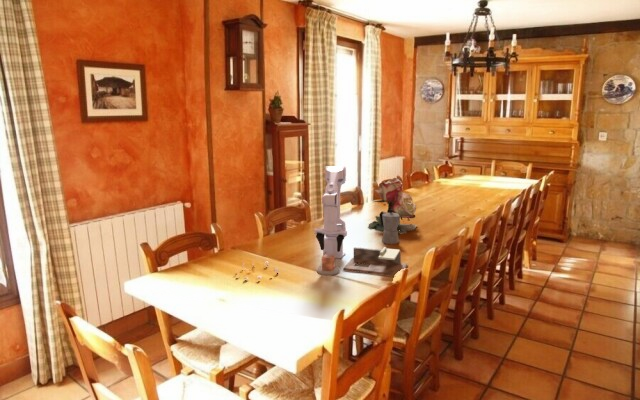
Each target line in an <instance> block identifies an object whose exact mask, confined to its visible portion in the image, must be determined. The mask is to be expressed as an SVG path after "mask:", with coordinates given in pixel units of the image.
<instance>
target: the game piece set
mask: <svg viewBox="0 0 640 400" xmlns="http://www.w3.org/2000/svg"><path fill="white" fill-rule="evenodd" d="M253 265H255V264H254V262H253V261H252V266H253ZM265 265H268V266H269V265H270V264H269V261H267V260H266V261H265V262H264V266H265ZM243 267H244V268H245V263H244V262H242V268H243ZM274 269H275V270H274V272H275V273H276V272H277V273H278V274H279V272H280V271H279V268H278V267H276V268H274ZM235 270H236V272H237V271H239V268H235ZM238 275H239V273H238V274H237V273H236V276H238ZM256 278H257V280H258V279H260V280H261V279H262V275H257V277H256ZM244 279H249V277H247V276H246V275H245V276H244V278H243V280H244Z"/></svg>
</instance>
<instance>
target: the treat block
mask: <svg viewBox="0 0 640 400" xmlns="http://www.w3.org/2000/svg"><path fill="white" fill-rule="evenodd" d="M335 262H336V258H335V255H327V254H325V255H324V256H323V255H322V257H321V266H322V270H324V271H332V270H333V269H334V268H335V266H336V263H335Z"/></svg>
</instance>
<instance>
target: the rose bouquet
mask: <svg viewBox="0 0 640 400" xmlns="http://www.w3.org/2000/svg"><path fill="white" fill-rule="evenodd" d="M402 186H403V182H402V181H401V180H400V179H399V178H398V177H393V178H392V179H389V180H387V181H384V180H383V182H381V183H379V187H380V188H378V189H374V191H375V192H376V193H377V196H378V198H380V200H373V201H372V203H384V204H383V206H386V204H385V203H387V204H388V205H387V213H390V209H392V213H397V214H399V215H400V219H399V223H398V227H397V231H398V235H403V234H407V232H408V231H409V232H410V231H413V230H415V229H416V228H417V226H418V225H417V224H413V223H409V224H406V223H405V224H404V223H401V221H402V222H404V219H407V221H411V219H415V218H416V214H415V213H416V209H417V208H416V207H417V203H416V204H415V203H414V201H413V197H412V196H411V194H409V193H405V192H403V188H402ZM374 218H375V220H374V221H372V222H371V223H368V226H367V229H369V230H374V231H377V232H384V227H383V226H382V224H381V220H380V215H379V216H378V215H375V216H374ZM399 230H400V231H399Z"/></svg>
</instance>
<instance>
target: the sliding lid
mask: <svg viewBox="0 0 640 400" xmlns="http://www.w3.org/2000/svg"><path fill="white" fill-rule="evenodd" d="M380 250H381V251H380V255H379V257H378V259H387V260H395V258H396V257H397V255H398V254H399V252H401V249H396V248H387V246H383V248H382V249H380Z"/></svg>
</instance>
